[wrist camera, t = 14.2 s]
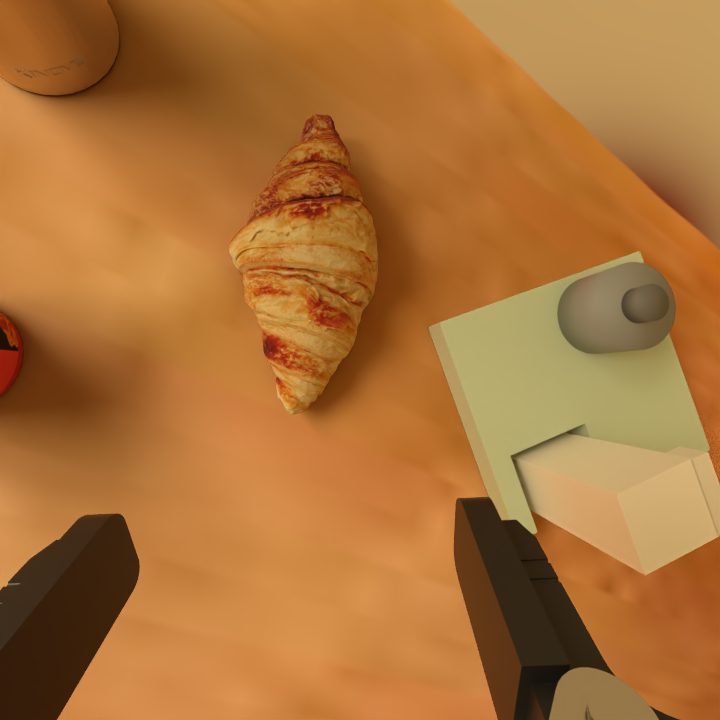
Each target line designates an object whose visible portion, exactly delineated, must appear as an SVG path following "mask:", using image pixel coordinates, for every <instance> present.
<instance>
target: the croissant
mask: <svg viewBox="0 0 720 720" xmlns="http://www.w3.org/2000/svg"><path fill="white" fill-rule="evenodd" d="M349 172H350V155H349V152H348V150H347V149H346V147H345V145H344V144H343V142H342V141H341V139H340V137H339V134H338V133H337V131H336V130H335V126H334V122H333V120H332V118H331V117H330V116H329V115H317V114H315V115H314V116H312V117H311V118H310V119H308V120H307V121H306V123H305V125H304V129H303V133H302V140H301V142H298V143H296V144H295V145H294V146H293V147H291V148H290V149H289V151H288V152H287V154H286V155H285V156H284V157H283V158H282V159H281V161H280V162H279V164H278V165H277V167H276V169H275V170H274V171H273V174H274V176H273V177H272V179H271V180H270V181H269V183H268V186H267V188H265V189H264V191H263V192H262V193H261V194H260V195H258V196H256V197H255V200H254V203H253V207H252V210H251V212H250V216H249V220H248V223H247V225H246V226H245V227H243V228H242V229H241V230H240V231H239V232H238V233H237V235H236V236H235V237H234V238H233V239H232V241H231V242H230V246H229V253H230V255H231V257H232V258H233V264H234V265H235V267H236V268H237V269H238V271H239V272H240V273H241V274H242V275H243V286H244V299H245V302H246V303H247V304H248V305H249V306H250V308H252V309H253V311H254V313H255V316H256V318H257V320H258V322H259V325H260V328H261V334H262V339H263V349H264V353H265V356H266V358H267V361H268V362H269V363H270V364H271V367H272V370H273V373H274V374H275V375H276V376H277V378H276V390H277V395H278V397H279V398H280V399H281V401H282V403H283V405H284V407H285V409H286V410H287V411H288V412H289V413H290V414H291V415H292V414H298V413H301V412H303V411H304V410H306V409H307V408H308V407H309V406H310V404H311V402H314V401H315V400H316V399H317V397H318V395H321V394H322V393H323V390H324V388H325V386H326V385H327V383H328V382H329V379H330V377H331V376H332V375H333V373H334V372H335V371H336V370H337V366H338V364H340V362H341V361H342V359H343V358H345V357H346V356H347V355H348V354H349V352H350V350H351V348H352V346H353V344H354V341H355V338H356V335H357V327H358V324H359V323H360V320H361V314H362V312H363V310H364V308H365V307H366V306H367V305H368V303H369V302H370V300H371V299H372V297H373V295H374V292H375V284H376V281H377V279H378V249H377V236H376V231H375V228H374V225H373V217H372V215H371V213H370V212H369V211H368V208H367V207H366V206H365V205H364V202H363V198H362V194H361V191H360V189H359V183H358V180H357V179H356V178H354V176H352V175H351V174H350V173H349Z"/></svg>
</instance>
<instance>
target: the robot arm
mask: <svg viewBox="0 0 720 720" xmlns="http://www.w3.org/2000/svg"><path fill="white" fill-rule="evenodd" d="M118 48H119V30H118V24H117V22H116V19H115V16H114V14H113V11H112V9H111V7H110V5H109V4H108V2H107V0H0V76H1V77H2V78H4V79H5V80H6V81H8V82H9V83H11V84H13V85H15V86H17V87H19V88H21V89H24V90H26V91H30V92H34V93H38V94H44V95H63V94H71V93H75V92H78V91H81V90H84V89H86V88H88V87H90V86H91V85H93V84H95V83H97V82H98V81H99V80H100V79H101V78H102V77H103V76H104V75H105V74H107V72H108V71H109V69H110V68H111V66H112V65H113V63H114V61H115V58H116V55H117V53H118ZM454 559H455V566H456V571H457V575H458V579H459V583H460V586H461V590H462V593H463V597H464V601H465V604H466V608H467V611H468V615H469V618H470V622H471V625H472V629H473V633H474V636H475V640H476V643H477V647H478V650H479V654H480V657H481V661H482V665H483V668H484V672H485V675H486V679H487V682H488V686H489V690H490V693H491V697H492V700H493V704H494V707H495V711H496V714H497V718H498V720H679V719H676V718H673V717H671V716H668V715H666V714H664V713H662V712H660V711H658V710H656V709H654V708H652V707H651V706H649V705H648V704H647V703H646V701H645V700H644V699H643V698H642V697H641V696H640V695H639V694H638V693H637V692H636V691H635V690H634V689H632V688H631V687H630V686H629V685H627V684H626V683H625V682H623V681H622V680H620V679H618V678H617V677H616V676H615V675H614V674H613V673H612V671H611V670H610V669H609V667H608V666H607V664H606V663H605V661H604V659H603V658H602V656H601V654H600V652H599V650H598V649H597V647H596V645H595V643H594V641H593V640H592V638H591V636H590V634H589V632H588V631H587V629H586V627H585V625H584V623H583V622H582V620H581V618H580V616H579V614H578V613H577V611H576V609H575V607H574V605H573V604H572V602H571V600H570V598H569V596H568V595H567V593H566V591H565V589H564V587H563V586H562V584H561V582H559V581H558V577H557V575H556V573H555V571H554V569H553V568H552V566H551V564H550V563H548V559H547V557H546V555H545V553H544V551H543V550H542V548H541V546H540V544H539V542H538V541H537V539H536V537H535V536H534V535H533V534H532V533H531V532H529V531H528V530H527V529H526V528H525V527H524V526H523V525H522V524H521V523H520V522H519V521H517V520H501V518H500V516H499V514H498V511H497V509H496V507H495V505H494V503H493V501H492V500H491V498H490V497H476V498H458V499H457V501H456V511H455V531H454ZM138 576H139V559H138V556H137V553H136V550H135V547H134V544H133V542H132V539H131V536H130V533H129V530H128V527H127V524H126V521H125V519H124V517H123V516H122V515H121V514H98V515H85V516H82V517H81V518H79V519H78V520H77V521H76V522H75V523H74V524H73V525H72V526H71V528H70V529H69V530H68V531H67V532H66V533H65V534H64V535H63V536H62V537H61V539H60V540H56V541H54V542H53V543H51V544H50V545H49V546H47V547H46V548H45V549H43V550H42V551H40V552H39V553H38V554H36V555H35V556H34V557H32V558H31V559H29V560H28V562H27V563H26V564H25V565H24V566H23V567H22V568H21V569H20V570H19V571H18V572H17V573H16V574H15V575H14V576H13V577H12V578H11V580H10V581H9V582H8V585H7V587H3V588H2V589H1V590H0V720H57V719H58V717H59V715H60V714H61V712H62V710H63V708H64V707H65V705H66V703H67V702H68V700H69V698H70V697H71V695H72V693H73V692H74V690H75V688H76V686H77V685H78V683H79V681H80V680H81V678H82V676H83V675H84V673H85V671H86V670H87V668H88V666H89V664H90V663H91V661H92V659H93V658H94V656H95V654H96V653H97V651H98V649H99V648H100V646H101V644H102V642H103V641H104V639H105V637H106V636H107V634H108V632H109V631H110V629H111V627H112V626H113V624H114V622H115V620H116V619H117V617H118V615H119V614H120V612H121V610H122V609H123V607H124V605H125V603H126V602H127V600H128V598H129V597H130V595H131V593H132V592H133V590H134V588H135V586H136V583H137V580H138Z"/></svg>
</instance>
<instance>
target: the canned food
mask: <svg viewBox="0 0 720 720" xmlns="http://www.w3.org/2000/svg"><path fill="white" fill-rule="evenodd" d="M22 359H23V344H22V341H21V338H20V334H19V332H18V331H17V329H16V327H15V325H14V324H13V323H12V322H11V321H10V320H9V319H8V317H6V316H5V315H4V314H2V313H1V312H0V396H1V395H3V394H4V393H5V392H6V391H7V390H8V389H9V387H10V386H11V385H12V384H13V382H14V381H15V379H16V377H17V376H18V373H19V371H20V368H21V365H22Z"/></svg>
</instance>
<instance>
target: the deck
mask: <svg viewBox="0 0 720 720" xmlns="http://www.w3.org/2000/svg"><path fill="white" fill-rule="evenodd" d="M674 318H675V300H674V296H673V292H672V290H671V288H670V286H669V284H668V282H667V281H666V279H665V278H664V277H663V276H662V275H661V273H659V272H658V271H657V270H656V269H654V268H653V267H651V266H649V265H647V264H644V261H643V259H642V256H641V253H640V251H638V252H635V253H632V254H630V255H627V256H624V257H621V258H618V259H616V260H613V261H610V262H607V263H604V264H602V265H599V266H596V267H593V268H590V269H588V270H585V271H582V272H579V273H576V274H574V275H571V276H568V277H565V278H562V279H560V280H557V281H554V282H551V283H548V284H545V285H543V286H540V287H537V288H534V289H531V290H529V291H526V292H523V293H520V294H517V295H515V296H512V297H509V298H506V299H503V300H501V301H498V302H495V303H492V304H489V305H487V306H484V307H481V308H478V309H475V310H473V311H470V312H467V313H464V314H461V315H459V316H456V317H453V318H450V319H447V320H445V321H442V322H439V323H437V324H434V325H432V326H429V327H428V329H429V332H430V334H431V337H432V340H433V343H434V345H435V348H436V351H437V354H438V357H439V359H440V362H441V365H442V368H443V371H444V373H445V376H446V379H447V382H448V384H449V387H450V390H451V393H452V396H453V398H454V401H455V404H456V407H457V410H458V412H459V415H460V418H461V421H462V423H463V426H464V429H465V432H466V435H467V437H468V440H469V443H470V446H471V449H472V451H473V454H474V457H475V460H476V462H477V465H478V468H479V471H480V474H481V476H482V479H483V482H484V485H485V488H486V490H487V493H488V496H489V497H490V498H491V500H492V501H493V503H494V505H495V507H496V509H497V511H498V514H499V516H500V518H501V520H517V521H519V522H520V523H521V524H522V525H523V526H524V527H525V528H526V529H527V530H528V531H529V532H531V533H532V534H535V533H537V532H538V531H537V529H536V526H535V523H534V520H533V517H532V515H531V512H530V509H529V506H528V504H527V501H526V498H525V495H524V492H523V490H522V487H521V484H520V481H519V478H518V476H517V473H516V470H515V467H514V465H513V462H512V459H511V455H513V454H516V453H518V452H520V451H523V450H525V449H527V448H529V447H532V446H534V445H536V444H539V443H541V442H543V441H546V440H548V439H550V438H552V437H555V436H557V435H559V434H562V433H564V432H566V431H567V433H569V434H574V435H579V436H584V437H589V438H594V439H599V440H604V441H609V442H614V443H619V444H624V445H629V446H633V447H638V448H643V449H648V450H653V451H658V452H663V453H666V452H669V451H671V450H673V449H675V448H677V447H679V446H680V447H685V448H691V449H696V450H702V451H709V450H710V447H709V444H708V441H707V439H706V436H705V433H704V430H703V427H702V424H701V422H700V419H699V416H698V413H697V410H696V408H695V405H694V402H693V399H692V396H691V394H690V391H689V388H688V385H687V382H686V380H685V377H684V374H683V371H682V368H681V365H680V363H679V360H678V357H677V354H676V351H675V349H674V346H673V343H672V340H671V337H670V335H669V332H670V330H671V328H672V325H673V322H674Z"/></svg>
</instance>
